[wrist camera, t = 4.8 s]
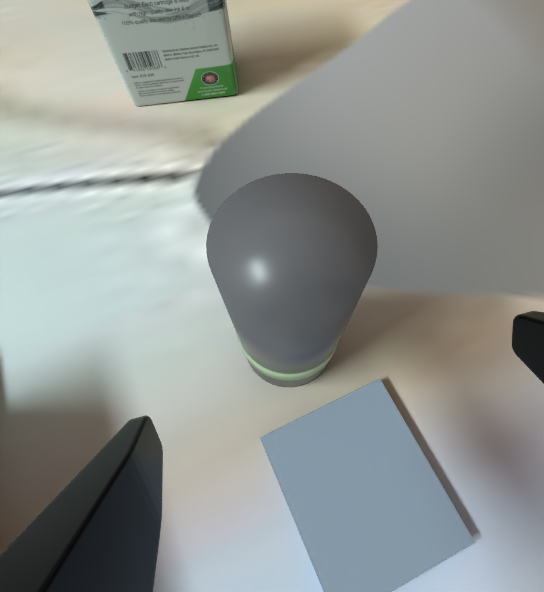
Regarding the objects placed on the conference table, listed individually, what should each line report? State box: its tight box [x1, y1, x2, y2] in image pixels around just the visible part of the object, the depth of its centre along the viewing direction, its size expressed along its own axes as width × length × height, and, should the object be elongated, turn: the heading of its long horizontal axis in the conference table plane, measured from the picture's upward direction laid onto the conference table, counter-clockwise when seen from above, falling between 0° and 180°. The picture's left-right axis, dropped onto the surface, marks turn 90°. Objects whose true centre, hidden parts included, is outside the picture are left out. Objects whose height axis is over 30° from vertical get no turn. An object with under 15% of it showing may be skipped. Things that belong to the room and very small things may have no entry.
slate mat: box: [260, 379, 475, 592], centre depth 17 cm, size 8×7×1 cm
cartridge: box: [206, 173, 377, 387], centre depth 15 cm, size 5×5×11 cm
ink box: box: [88, 0, 238, 106], centre depth 24 cm, size 9×5×12 cm, turn 96°
